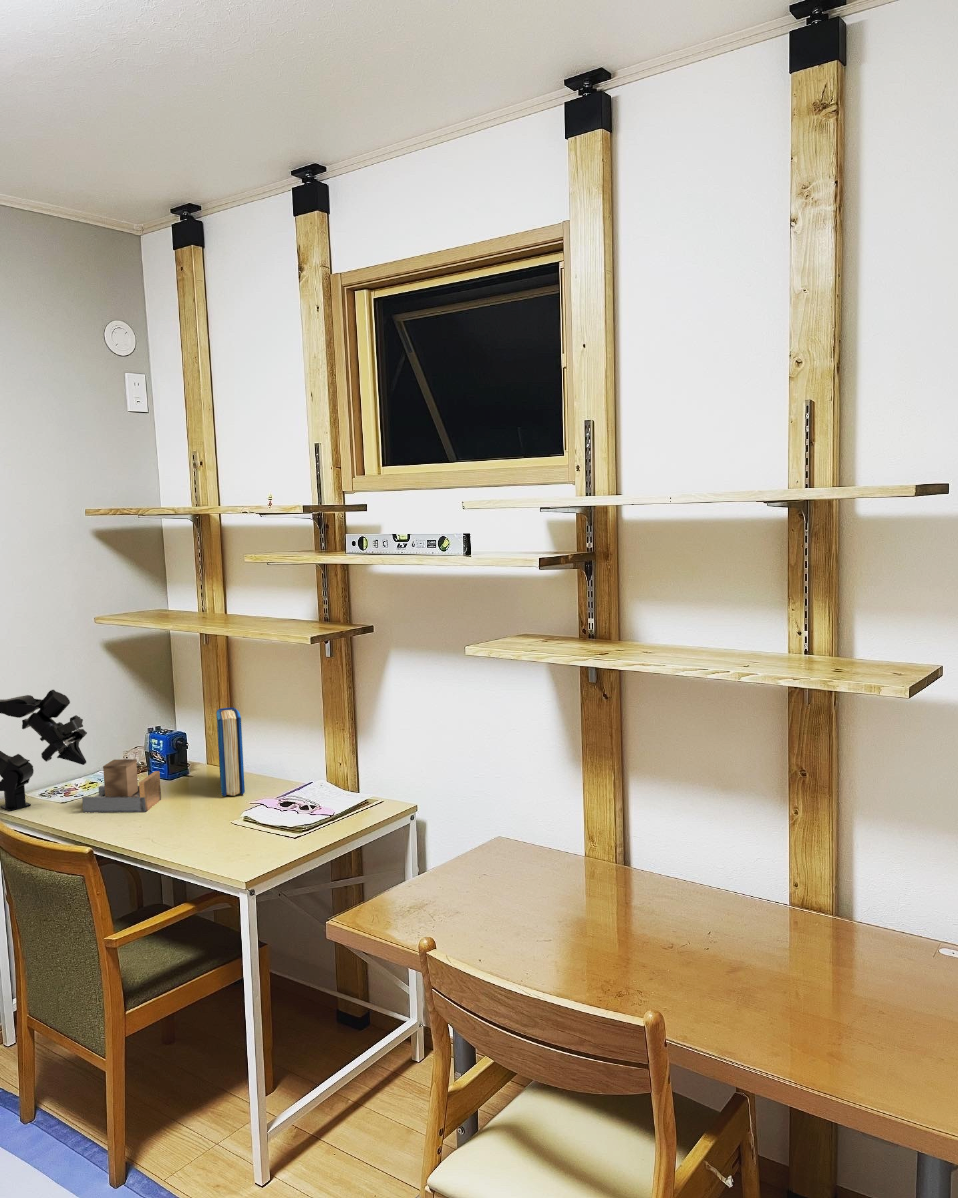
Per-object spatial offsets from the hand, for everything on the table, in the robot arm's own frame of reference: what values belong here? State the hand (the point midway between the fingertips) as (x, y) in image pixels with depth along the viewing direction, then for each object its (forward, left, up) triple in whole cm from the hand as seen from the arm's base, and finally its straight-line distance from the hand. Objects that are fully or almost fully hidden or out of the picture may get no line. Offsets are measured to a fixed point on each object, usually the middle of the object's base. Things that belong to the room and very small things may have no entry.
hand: (85, 763), depth 289 cm
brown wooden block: (+8, +7, -10) cm, 15 cm away
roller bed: (+8, +6, -13) cm, 17 cm away
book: (+21, +37, -13) cm, 45 cm away
